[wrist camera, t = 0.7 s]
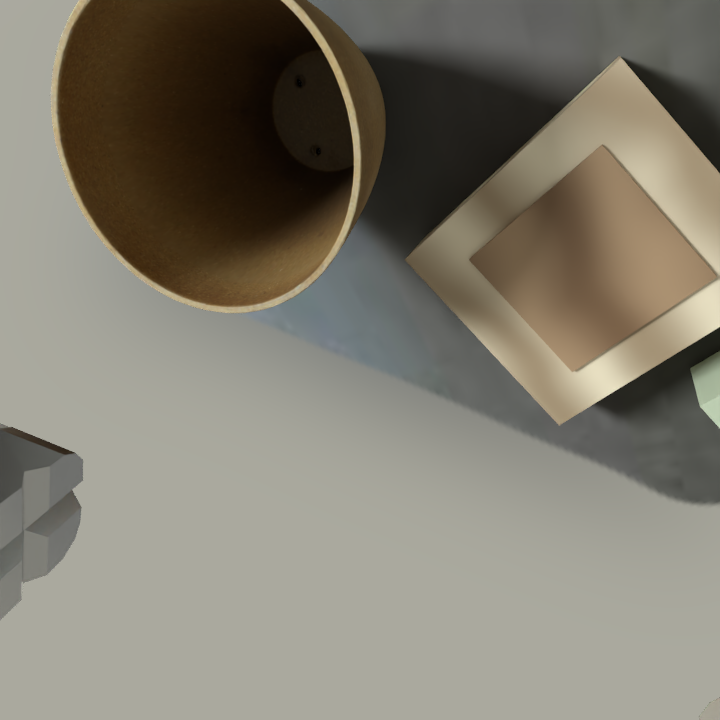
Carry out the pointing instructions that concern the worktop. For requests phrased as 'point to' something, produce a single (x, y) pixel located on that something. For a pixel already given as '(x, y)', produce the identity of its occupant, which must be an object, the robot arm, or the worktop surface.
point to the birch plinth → (586, 248)
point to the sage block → (708, 385)
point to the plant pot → (217, 142)
